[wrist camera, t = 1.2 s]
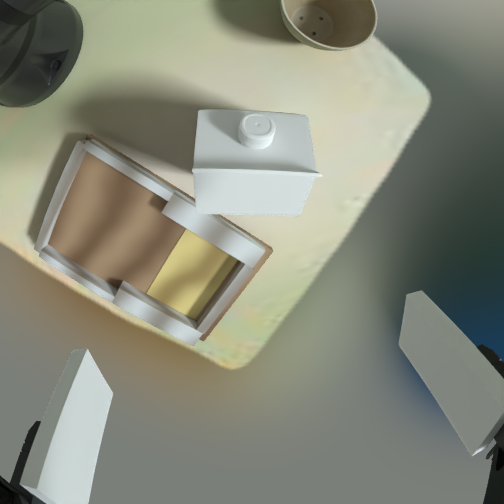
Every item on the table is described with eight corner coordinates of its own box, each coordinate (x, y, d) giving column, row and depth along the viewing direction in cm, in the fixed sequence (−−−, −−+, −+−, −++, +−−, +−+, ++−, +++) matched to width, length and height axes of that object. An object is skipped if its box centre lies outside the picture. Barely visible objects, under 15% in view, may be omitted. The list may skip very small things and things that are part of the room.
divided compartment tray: (44, 242, 35) (33, 252, 32) (91, 134, 31) (80, 136, 28) (203, 336, 43) (203, 350, 40) (271, 247, 39) (276, 257, 36)
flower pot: (285, 69, 31) (301, 57, 24) (257, -3, 27) (266, -28, 20) (362, 55, 30) (390, 44, 24) (335, -13, 26) (357, -35, 20)
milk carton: (268, 180, 36) (315, 236, 18) (205, 178, 35) (191, 234, 17) (271, 119, 33) (327, 112, 15) (207, 116, 32) (193, 104, 15)
